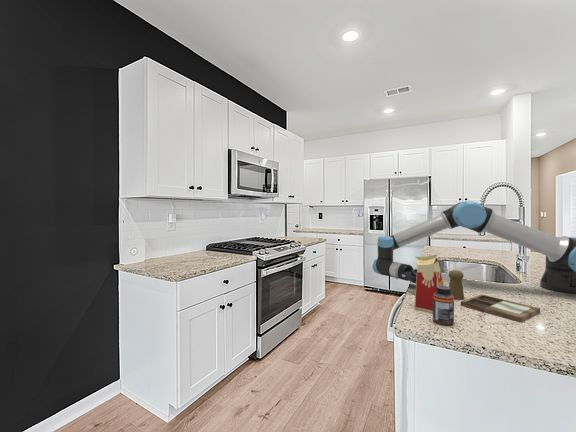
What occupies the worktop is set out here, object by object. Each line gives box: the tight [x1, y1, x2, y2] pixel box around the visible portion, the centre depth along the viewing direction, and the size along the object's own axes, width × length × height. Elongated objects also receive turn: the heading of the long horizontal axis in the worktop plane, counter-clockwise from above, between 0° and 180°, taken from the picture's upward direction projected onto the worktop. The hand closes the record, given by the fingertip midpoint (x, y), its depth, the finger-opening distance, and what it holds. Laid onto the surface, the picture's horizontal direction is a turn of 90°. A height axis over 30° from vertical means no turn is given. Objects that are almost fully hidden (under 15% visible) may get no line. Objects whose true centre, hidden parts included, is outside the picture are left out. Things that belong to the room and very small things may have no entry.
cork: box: [448, 269, 465, 301], centre depth 116 cm, size 6×6×11 cm
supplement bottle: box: [432, 285, 455, 326], centre depth 92 cm, size 6×6×11 cm
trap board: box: [460, 294, 541, 323], centre depth 104 cm, size 16×18×2 cm
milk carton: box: [414, 253, 445, 314], centre depth 104 cm, size 9×9×20 cm
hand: (446, 281), depth 119 cm, fingers open, 13 cm apart
